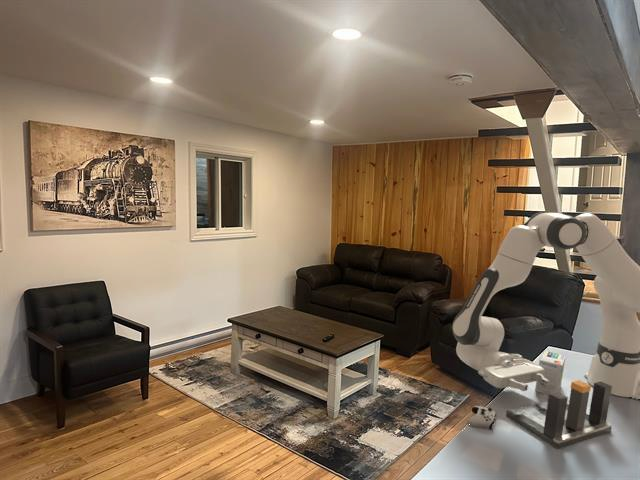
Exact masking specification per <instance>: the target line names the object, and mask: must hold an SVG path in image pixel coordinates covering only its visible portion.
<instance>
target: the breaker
mask: <svg viewBox="0 0 640 480" xmlns="http://www.w3.org/2000/svg"><path fill="white" fill-rule="evenodd" d="M591 387H592V385H591V384H590V383H588V382H584V381H582V380H579V379H577V380H573V381H571V384H570V388H571V389H570V393H569V394H570V395H569V401H568V404H569V406H568V413H567V419H566V426H568V427H570V428H571V429H573V430H575V431H579V430H582V429H584V423H585V417H586V414H587V410H588V403H589V396H590V392H591V389H592V388H591Z"/></svg>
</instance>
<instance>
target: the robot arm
mask: <svg viewBox="0 0 640 480" xmlns="http://www.w3.org/2000/svg"><path fill="white" fill-rule="evenodd" d="M544 247H548V248H554V249H557V250H560V251H561V250H564V251H565V250H571V249H574V248H575V249H576V251H577V252H578V254H579V255H580V256H581V257H582V259H583V261H584V262H585V263H586V265H587V266H588V268H589V269H590V270H591V272H592V273H593V274H594V275H596V276H595V278H594V280H593V288H594V291H595V292H596V293H597V296H598V299H599V302H600V303H599V304H600V310H601V315H602V319H601V320H602V321H601V322H602V325H601V331H600V339H599V342H597V345H596V354H594V355H593V356H592V358H591V361H590V365H589V368H588V371H587V372H585V373H584V377H585V378H586V379H587V383H588V384H589V385H591V387H594V383H597V382H603V383H605V384H608V385H610V386H612V390H611V395H614V396H617V397H622V398H629V397H632V398H631V399H634V398H636V399H635V400H638V399H640V320H639V318H638V315H637V313H640V266H639V264H638V263H636V262H635V260H633V259H632V258H631V257H630V255H629V254H628V253H627V252H626V250H625V249H624V248H623V246H622V245H621V244H620V242H619V240H618V239H617V238H616V236H615V235H614V234H613V232H612V231H611V229H610V228H609V227H608V226H607V225H606V224H605V222H604V221H602V219H600V218H599V217H598V216H597V215H596V214H594V213H590V212H588V213H587V212H585V213H581V214H578V215H576V216H572V215H567V214H564V213H561V212H548V211H540V212H537V213H534V214H533V215H531V216H530V217H529V218H528V220H526V222H524V224H522V225H521V224H517V225H515V226H513V227H511V228H510V230H508V232H507V234H506V236H504V239H503V241H502V243H501V245H500V247H499V249H498V252H497V254H496V255H495V258H494V260H493V261H492V263H491V265H490V266H489V267H488V268H487V269H486V270H485V271H483V272H482V274H481V275H480V276H479V279H478V280H477V282H476V283H475V285H474V287H473V289H472V291H471V292H470V294H469V296H468V298H467V299H466V302H465V303H464V306H463V307H462V309H461V310H460V311H459V313H458V314H457V315H456V316H455V317H454V319H453V322H452V326H451V329H452V334H453V337H454V338H455V340H456V341H457V344H456V347H455V349H456V350H455V351H456V355H457V357H459V359H460V360H461V361H462V362H463V363H464V364H466V365H467V366H469V367H471V368H472V369H474V370H475V371H477V373H478V375H480V376H482V377H483V381H485V382H487V384H489V385H491V386H493V387H494V388H496V389H504V388H513V389H517V390H519V391H521V392H526V391H528V389H529V388H528V387H529V386H528V384H529V383H534V382H536V381H539V382H541V385H543V386H549V383H550V381H549V380H548V379H546V378H544V372H545V370H544V369H543V368H542V367H541V366H539V364H538V363H535V362H533V361H531V360H529V359H528V358H527V359H526V358H523V356H522V355H520V354H519V353H507V352H503V351H500V348H501V346H502V344H503V341H504V339H505V334H506V331H505V328H504V325H503V323H502V322H501V321H500V320H499V319H498V318H495V317H489V316H483V314H484V312H485V310H486V309H487V306H488V305H489V302H490V301H491V299H492V298H493V296H494V295H495V294H497V293H498V292H499V291H501V290H505V289H507V288H512V287H515V286H518V285H520V284H522V283H524V282H525V281H526V279H527V278H528V276H529V275H530V272H531V271H532V268H533V266H534V262H535V260H536V257H537V255H538V254H539V252H540V251H541V250H542V249H543V248H544Z"/></svg>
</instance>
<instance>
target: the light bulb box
mask: <svg viewBox="0 0 640 480" xmlns="http://www.w3.org/2000/svg"><path fill="white" fill-rule="evenodd" d="M565 362H566V355H565V354H559V353H556V352H553V351H552V352H551V351H548V350H543V352H542V355H541V357H540V359H539V362H538V365H539V366H541V367H542V368H543V369H544V370H545V372H544V378H546V379H548V380H549V381H550V383H549V386H543V385H541V382H539V381H535V382H536V383H535V389H534V391H536V392H537V393H542V394H545V395H548V396H549V394H550V393H554V392H558V393H560V389H561V387H562V382H563V374H564V368H565Z"/></svg>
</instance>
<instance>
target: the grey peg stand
mask: <svg viewBox="0 0 640 480" xmlns="http://www.w3.org/2000/svg"><path fill="white" fill-rule="evenodd" d="M592 387H593V389H592V394H591V399H590V400H591V401H590V406H589V407H590V408H589V414H588V413H586V417H585V423H584V429H582V430H579V431H575V430H573V429H571V428H570V427H568V426H566V419H567V413H568V406H569V403H568V399H569V397H568V396H566V395H564V394H562V393H560V392H559V393H558V392H554V393H550V394H549V395H548V399H547V401H544V402H540V403H535V404H532V405H527V406H523V407H519V408H515V409H511V410H508V411H505V417H506V418H507V419H509V420H510V421H512V422H514V423H515V424H517V425H519V426H520V427H522V428H524V429H525V430H526V431H528V432H530V433H531V434H533V435H534V436H536V437H538V438H539V439H541V440H542V441H544V442H546V443H547V444H549V445H550V446H552V447H553V448H555V449H557V450H560V449H563V448H566V447H570V446H572V445H576V444H579V443H581V442H585V441H588V440H591V439H595V438H597V437H600V436H603V435H606V434H607V435H608V434H610V433H611V432H612V429H613V424H611V423H610V422H608V421H607V419H608V412H609V408H610V407H609V406H610V401H611V397H612V396H611V395H612V394H611V390H612V386H610V385H608V384H605V383H603V382H597V383H594V386H592Z"/></svg>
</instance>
